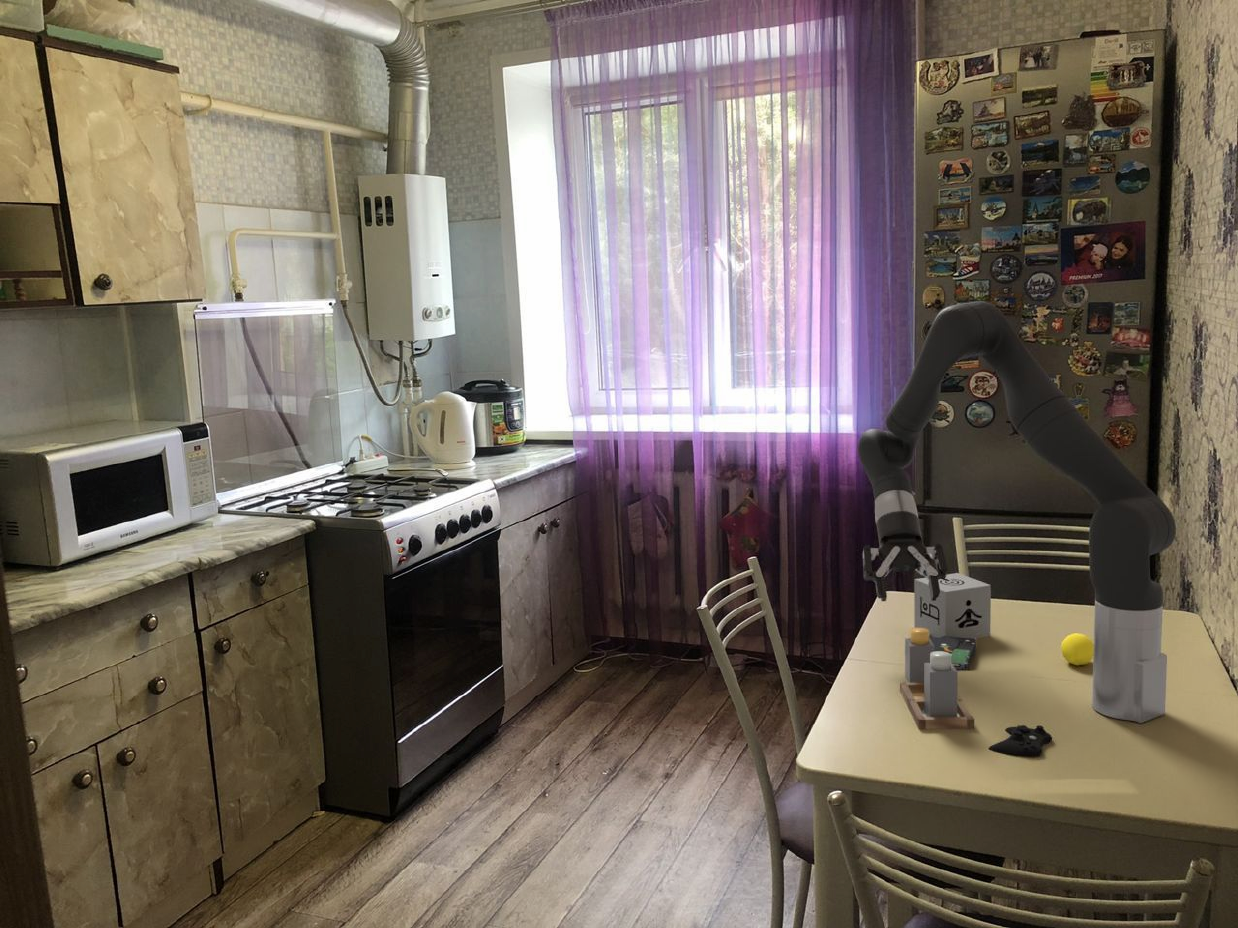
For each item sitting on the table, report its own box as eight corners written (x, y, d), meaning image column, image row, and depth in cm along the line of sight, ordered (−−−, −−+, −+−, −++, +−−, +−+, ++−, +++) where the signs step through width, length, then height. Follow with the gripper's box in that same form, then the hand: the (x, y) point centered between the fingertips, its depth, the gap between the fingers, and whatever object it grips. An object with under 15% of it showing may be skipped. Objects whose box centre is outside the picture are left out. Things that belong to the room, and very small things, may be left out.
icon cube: (914, 628, 200) (914, 579, 198) (957, 621, 203) (957, 572, 201) (945, 643, 190) (945, 591, 189) (990, 635, 193) (990, 585, 192)
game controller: (1001, 727, 150) (1042, 710, 146) (1020, 758, 149) (1062, 742, 145) (979, 751, 143) (1022, 733, 138) (999, 783, 141) (1043, 767, 137)
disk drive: (918, 647, 190) (906, 673, 177) (918, 633, 190) (906, 657, 177) (976, 652, 186) (968, 679, 173) (976, 638, 186) (968, 663, 172)
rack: (950, 697, 164) (950, 682, 164) (974, 736, 149) (974, 719, 149) (900, 698, 165) (899, 682, 164) (918, 736, 150) (918, 719, 150)
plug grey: (950, 712, 155) (951, 649, 154) (957, 722, 151) (957, 658, 150) (924, 712, 156) (924, 650, 154) (929, 723, 152) (929, 659, 150)
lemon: (1092, 674, 173) (1093, 645, 172) (1058, 669, 176) (1058, 641, 174) (1096, 655, 179) (1096, 628, 177) (1063, 652, 181) (1063, 624, 180)
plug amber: (929, 683, 171) (929, 626, 169) (934, 692, 167) (934, 634, 165) (905, 683, 171) (905, 626, 170) (909, 692, 167) (909, 634, 166)
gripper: (859, 510, 183) (869, 589, 174) (940, 508, 182) (955, 587, 172) (855, 532, 189) (865, 609, 180) (933, 530, 188) (947, 608, 178)
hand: (909, 598), depth 176 cm, fingers open, 8 cm apart
